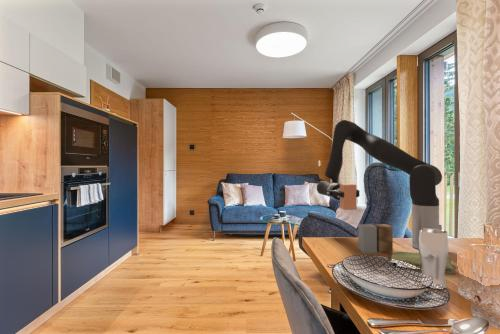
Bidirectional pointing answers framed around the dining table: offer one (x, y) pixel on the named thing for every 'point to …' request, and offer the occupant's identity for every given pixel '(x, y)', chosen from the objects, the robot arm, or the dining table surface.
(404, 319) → the dining table surface
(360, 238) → the slate-grey block
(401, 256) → the washcloth
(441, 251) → the beer glass
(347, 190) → the terracotta block
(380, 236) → the walnut block
